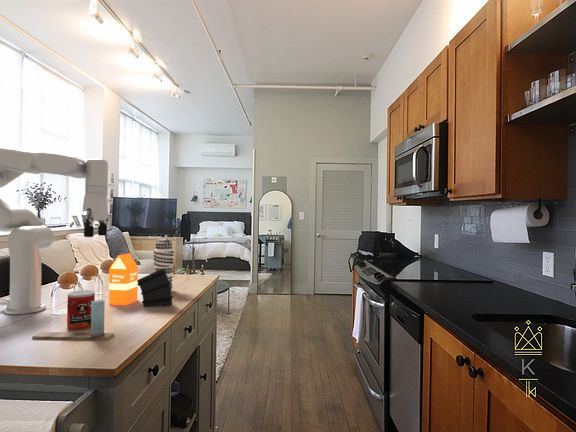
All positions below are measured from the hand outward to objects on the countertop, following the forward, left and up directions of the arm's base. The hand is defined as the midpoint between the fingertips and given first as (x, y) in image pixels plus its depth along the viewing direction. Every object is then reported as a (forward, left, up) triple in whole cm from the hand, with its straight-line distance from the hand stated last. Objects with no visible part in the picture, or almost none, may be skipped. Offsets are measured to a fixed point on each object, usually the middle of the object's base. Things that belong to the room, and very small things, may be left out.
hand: (95, 236), depth 137 cm
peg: (+17, -30, -28) cm, 44 cm away
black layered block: (+20, +8, -28) cm, 36 cm away
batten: (+10, -30, -28) cm, 42 cm away
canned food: (+6, -20, -28) cm, 35 cm away
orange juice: (+5, +13, -28) cm, 32 cm away
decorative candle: (+14, +35, -28) cm, 47 cm away
